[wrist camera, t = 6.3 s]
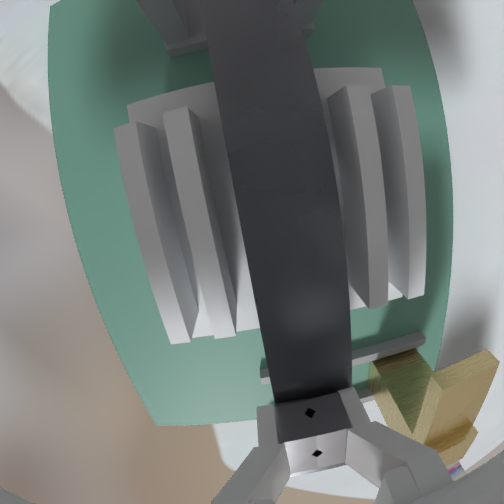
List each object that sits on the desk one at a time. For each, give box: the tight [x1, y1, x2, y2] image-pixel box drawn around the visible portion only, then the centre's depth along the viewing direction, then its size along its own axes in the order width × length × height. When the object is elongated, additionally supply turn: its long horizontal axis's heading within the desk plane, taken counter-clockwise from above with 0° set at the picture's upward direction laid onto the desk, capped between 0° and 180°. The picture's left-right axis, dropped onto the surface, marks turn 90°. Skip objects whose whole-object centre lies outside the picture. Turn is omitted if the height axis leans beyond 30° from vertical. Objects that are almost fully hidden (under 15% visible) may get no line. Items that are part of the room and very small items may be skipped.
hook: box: [368, 348, 499, 467], centre depth 12 cm, size 3×6×8 cm, turn 10°
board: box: [48, 0, 453, 426], centre depth 10 cm, size 20×28×8 cm
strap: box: [200, 0, 352, 477], centre depth 7 cm, size 4×19×2 cm, turn 10°
